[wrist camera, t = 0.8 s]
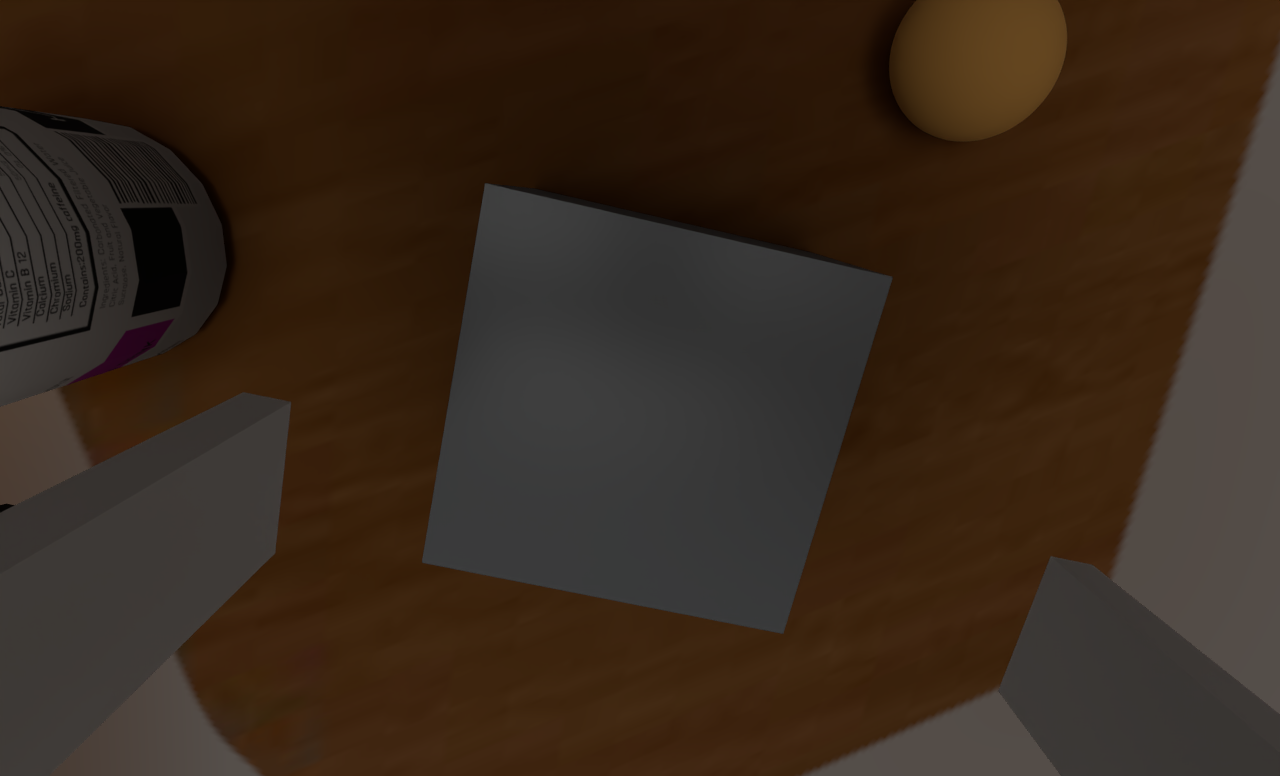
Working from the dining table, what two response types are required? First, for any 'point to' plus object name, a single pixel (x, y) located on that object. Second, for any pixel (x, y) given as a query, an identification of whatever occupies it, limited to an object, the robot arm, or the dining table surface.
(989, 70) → the ball
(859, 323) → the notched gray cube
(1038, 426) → the dining table surface
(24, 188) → the supplement can
